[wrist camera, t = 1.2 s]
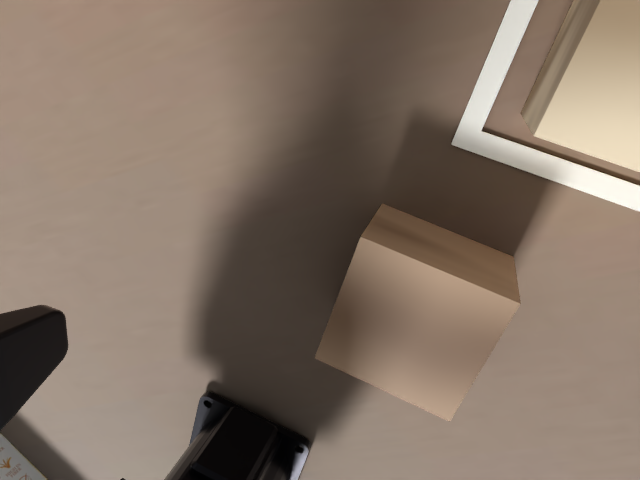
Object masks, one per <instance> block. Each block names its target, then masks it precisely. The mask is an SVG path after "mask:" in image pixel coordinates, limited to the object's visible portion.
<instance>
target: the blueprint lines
mask: <svg viewBox="0 0 640 480" xmlns="http://www.w3.org/2000/svg"><path fill="white" fill-rule="evenodd" d="M537 3H538V0H511V1H510V4H509V6H508V9H507V11H506V13H505V16H504V18H503V21H502V23H501V25H500V28H499V30H498V33H497V35H496V37H495V40H494V42H493V45H492V47H491V50H490V52H489V54H488V57H487V59H486V62H485V64H484V66H483V69H482V71H481V74H480V76H479V78H478V81H477V83H476V86H475V88H474V90H473V93H472V95H471V98H470V100H469V103H468V105H467V107H466V110H465V112H464V115H463V117H462V119H461V122H460V124H459V127H458V129H457V131H456V134H455V136H454V139H453V141H452V143H451V145H453V146H456V147H459V148H462V149H465V150H468V151H470V152H473V153H476V154H479V155H482V156H484V157H487V158H490V159H493V160H496V161H499V162H501V163H504V164H507V165H510V166H513V167H515V168H518V169H521V170H524V171H527V172H530V173H532V174H535V175H538V176H541V177H544V178H546V179H549V180H552V181H555V182H558V183H561V184H563V185H566V186H569V187H572V188H575V189H577V190H580V191H583V192H586V193H589V194H592V195H594V196H597V197H600V198H603V199H606V200H608V201H611V202H614V203H617V204H620V205H623V206H625V207H628V208H631V209H634V210H637V211H639V212H640V186H639V185H637V184H634V183H631V182H628V181H625V180H622V179H619V178H616V177H613V176H611V175H608V174H605V173H602V172H599V171H596V170H593V169H590V168H587V167H585V166H582V165H579V164H576V163H573V162H570V161H567V160H564V159H561V158H559V157H556V156H553V155H550V154H547V153H544V152H541V151H538V150H535V149H533V148H530V147H527V146H524V145H521V144H518V143H515V142H512V141H509V140H507V139H504V138H501V137H498V136H495V135H492V134H489V133H486V132H483V131H481V130H482V128H483V126H484V124H485V121H486V119H487V117H488V114H489V112H490V110H491V108H492V105H493V103H494V101H495V98H496V96H497V94H498V92H499V89H500V87H501V85H502V83H503V80H504V78H505V76H506V73H507V71H508V69H509V67H510V64H511V62H512V60H513V57H514V55H515V53H516V51H517V48H518V46H519V44H520V41H521V39H522V37H523V35H524V32H525V30H526V28H527V26H528V23H529V21H530V19H531V16H532V14H533V12H534V10H535V7H536V5H537Z"/></svg>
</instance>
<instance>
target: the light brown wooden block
mask: <svg viewBox="0 0 640 480" xmlns="http://www.w3.org/2000/svg"><path fill="white" fill-rule="evenodd" d="M520 304H521V303H520V296H519V290H518V283H517V276H516V270H515V263H514V257H513V256H511V255H508V254H506V253H503V252H501V251H498V250H496V249H493V248H491V247H488V246H486V245H483V244H481V243H479V242H476V241H474V240H471V239H469V238H466V237H464V236H461V235H459V234H456V233H454V232H451V231H449V230H447V229H444V228H442V227H439V226H437V225H434V224H432V223H429V222H427V221H424V220H422V219H419V218H417V217H414V216H412V215H410V214H407V213H405V212H402V211H400V210H397V209H395V208H392V207H390V206H387V205H385V204H381V206H380V207H379V209H378V211H377V212H376V214H375V215H374V217H373V218H372V220H371V221H370V223H369V224H368V226H367V227H366V229H365V231H364V232H363V234H362V235H361V237H360V239H359V242H358V245H357V247H356V250H355V253H354V255H353V258H352V260H351V263H350V266H349V268H348V271H347V274H346V276H345V279H344V281H343V284H342V287H341V289H340V292H339V295H338V297H337V300H336V302H335V305H334V308H333V310H332V313H331V316H330V318H329V321H328V323H327V326H326V329H325V331H324V334H323V337H322V339H321V342H320V344H319V347H318V350H317V352H316V355H315V359H317V360H319V361H322V362H324V363H326V364H328V365H330V366H332V367H334V368H336V369H339V370H341V371H343V372H345V373H347V374H349V375H351V376H353V377H356V378H358V379H360V380H362V381H364V382H366V383H368V384H370V385H373V386H375V387H377V388H379V389H381V390H383V391H385V392H387V393H390V394H392V395H394V396H396V397H398V398H400V399H402V400H404V401H407V402H409V403H411V404H413V405H415V406H417V407H419V408H421V409H424V410H426V411H428V412H430V413H432V414H434V415H436V416H438V417H441V418H443V419H445V420H447V421H449V422H450V421H451V419H452V417H453V416H454V414H455V412H456V411H457V409H458V407H459V406H460V404H461V402H462V401H463V399H464V397H465V396H466V394H467V392H468V391H469V389H470V387H471V386H472V384H473V382H474V381H475V379H476V377H477V376H478V374H479V372H480V371H481V369H482V367H483V366H484V364H485V362H486V361H487V359H488V357H489V356H490V354H491V352H492V351H493V349H494V347H495V346H496V344H497V342H498V341H499V339H500V337H501V336H502V334H503V332H504V331H505V329H506V327H507V326H508V324H509V322H510V321H511V319H512V317H513V316H514V314H515V312H516V311H517V309H518V307H519V306H520Z"/></svg>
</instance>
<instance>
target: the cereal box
mask: <svg viewBox="0 0 640 480" xmlns="http://www.w3.org/2000/svg"><path fill="white" fill-rule="evenodd" d="M0 480H48V479H47V478H46V477H45V476H44V475H43V474H42V473H41V472H40V471H39V470H38V469H37V468H36V467H35V466H34V465H33V464H32V463H31V462H29V461H28V460H27V459H26V458H25V457H24V456H23V455H22V454H21V453H20V452H19V451H18V450H17V449H16V448H15V447H14V446H13V445H12V444H11V443H10V442H9V441H8V440H7V439H6V438H5V437H4V436H3V435H2V434H1V433H0Z"/></svg>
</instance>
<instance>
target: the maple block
mask: <svg viewBox="0 0 640 480" xmlns="http://www.w3.org/2000/svg"><path fill="white" fill-rule="evenodd" d="M521 115H522V117H523V119H524V120H525V122H526V124H527V125H528V127H529V129H530V131H531V132H532V134H533V136H535V137H538V138H541V139H544V140H547V141H550V142H553V143H556V144H558V145H561V146H564V147H567V148H570V149H573V150H576V151H579V152H582V153H585V154H588V155H591V156H594V157H597V158H600V159H602V160H605V161H608V162H611V163H614V164H617V165H620V166H623V167H626V168H629V169H632V170H635V171H638V172H640V0H574V1H573V3H572V5H571V7H570V9H569V11H568V13H567V15H566V18H565V20H564V22H563V24H562V26H561V28H560V30H559V33H558V35H557V37H556V39H555V41H554V43H553V45H552V47H551V50H550V52H549V54H548V56H547V58H546V60H545V62H544V65H543V67H542V69H541V71H540V73H539V75H538V77H537V79H536V82H535V84H534V86H533V88H532V90H531V92H530V94H529V97H528V99H527V101H526V103H525V105H524V107H523V109H522V111H521Z"/></svg>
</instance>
